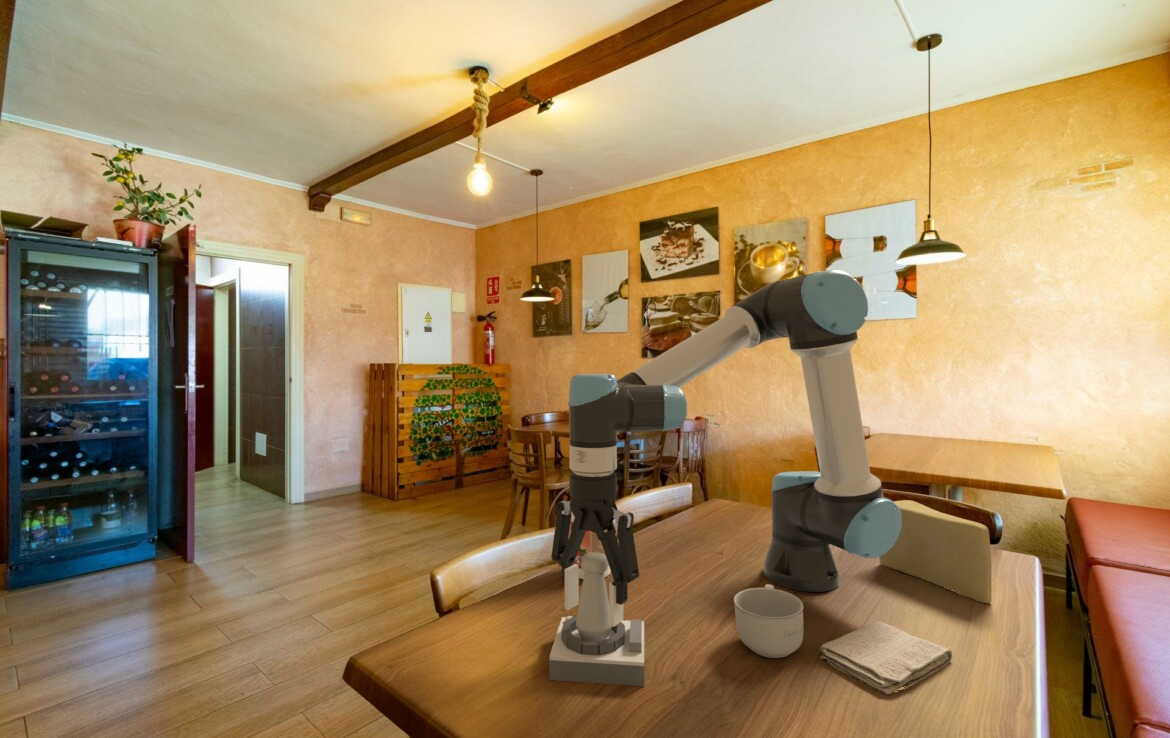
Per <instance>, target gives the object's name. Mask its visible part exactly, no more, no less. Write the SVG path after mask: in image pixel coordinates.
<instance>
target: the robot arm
mask: <svg viewBox="0 0 1170 738" xmlns="http://www.w3.org/2000/svg"><path fill="white" fill-rule="evenodd" d="M868 312H869V302H868V298H867V295H866V292H865V290H864V288H863V287H862V284H860V282H859V281H858V280H857V279H856V278H855V277H852V275H851V274H849V273H847V272H845V271H842V270H838V269H837V270H836V269H832V270H824V271H823V270H821V271H815V272H812V273H808V274H804V275H800V276H794V277H792V278H786V279H781V280H776V281H774V282H772V283H769V284H767V285H764V286H763V287H761V288H759V289H758V290H757V291H754V292H753V293H751V294H750V295H748V296H746V297H745V298H743V299H741V301H739V302H736V304H734V305H732V306H731V307H729V308H728V309H726V311H725V313H724V316H723V317H721V318H720V319H718V320H716V321H715V322H713V323H711V324H710V325H707V326H706V327H704V328H702V329H701V330H699V331H698V332H696V333H694V334H693V335H691V336H689V337H688V338H686V339H685V340H683V341H681V342H680V343H678V344H676V345H674V346H673V347H671V348H669V349H667V350H666V351H664V352H662V353H661V354H659V355H657V356H656V357H654V358H653V359H651V360H649V361H647V362H646V363H644V364H642V365H641V366H639V367H637V368H635V369H634V370H632V371H631V372H629V373H627V374H625V375H623V376H622V377H620V378H618V379H617V377H616V375H614V374H611V373H609V374H606V373H604V374H603V373H597V374H595V373H591V374H590V373H586V374H585V373H581V374H580V373H579V374H575V375H573V376H572V377H571V379H570V381H569V389H568V391H569V393H568V403H567V406H568V418H569V419H568V421H569V422H568V423H569V470H570V471H571V472H570V474H569V476H568V477H569V479H568V480H569V481H568V482H569V485H568V487H569V496H570V497H571V499H570V500H568V499H565V500H562V501H559V502H556V503H555V512H556V513H555V514H556V521H555V528H554V534H553V535H554V536H553V541H552V542H553V543H552V549H551V555H550V556H551V560H552V561H553V562H557V563H558V564H559V565H560V567H561V585H562V586H563V587H564V610H565V611H569V610H571V609H573V608H575V607H576V606H579V602H580V595H579V594H580V593H579V590H580V589H579V585H580V584H579V582H580V581H579V579H580V578H579V565H577V564H574V565H573V563H574V562H576V561H577V560H576V556H577V553H578V551H579V548H580V546H581V543H582V540H583V538H584V535H585V533H586V531H587V530H590V531H592V532H594V533H596V535H597V538H598V539H599V540H600V541H601V543H602V546H603V549H604V552H605V555H606V558H607V561H608V564H609V567H610V570H611V572H610V574H611V576H612V578H613V580H612V581H610V582H609V585H608V586H609V606H610V626H613V627H614V626H616V625H617V624H618V623H620V622H621V621H622V620H624V604H625V603H626V602H627V601H628V584H629V583H631V582H633V581H635V580H636V579H638V578H639V577H640V570H639V564H638V563H639V562H638V556H637V551H636V543H635V537H634V530H633V526H634V519H635V516H634V514H633V512H627V513H625V512H623V511H620V510H619V509H618V507H617V504H616V498H617V493H618V491H617V490H618V487H617V486H618V482H617V479H618V477H617V476H618V475H617V473H616V471H615V470H617V468H618V459H617V458H618V455H617V454H618V451H617V448H618V447H617V446H618V445H617V444H618V440H617V439H618V438H617V435H618V433H631V432H632V433H633V432H637V433H638V432H657V431H658V432H660V431H661V432H665V431H670V430H677V429H680V428H681V427H682V426H683V425H684V423H685V421H686V419H687V416H688V415H687V414H688V404H687V403H688V402H687V398H686V395H685V393H684V391H683V390H682V389H681V388H682V387H684V386H685V385H686V384H689V383H690V382H692V381H693V380H695V379H697V378H698V377H699V376H702V374H704V373H706V372H707V371H709V370H711V369H713V368H714V367H716V366H717V365H719V364H721V363H722V362H724V361H726V360H727V359H729V358H730V357H732V356H733V355H735V354H737V353H739V352H740V351H742V350H743V349H748V350H749V349H754V348H756V347H757V346H758V345H760V344H762V343H766V342H769V341H772V340H777V339H783V338H784V339H785V338H787V339H788V342H789V347H790V351H791V352H793V353H794V354H796V355H797V356H799V357H800V361H801V366H802V367H801V368H802V373H803V379H804V385H805V390H806V396H807V403H808V407H809V408H808V409H809V414H810V415H809V416H810V421H811V425H812V432H813V437H814V443H815V449H816V453H817V454H816V455H817V456H816V457H817V459H818V460H817V461H818V466H819V471H814V470H813V471H809V470H808V471H807V470H806V471H805V470H803V471H799V470H798V471H785V472H779V473H777V474H775V475H774V477H773V478H772V487H771V490H770V491H771V530H772V532H771V534H772V535H771V542H770V544H769V547H768V550H767V552H766V555H765V558H764V562H763V574H764V576H765V577H766V579H768V580H769V581H771V582H772V583H774V584H776V585H778V586H781V587H783V588H786V589H790V590H795V591H800V592H808V593H809V592H810V593H823V592H828V591H832V590H834V589H836V588H838V586H839V584H840V581H839V579H840V578H839V577H840V575H839V574H840V573H839V570H838V567H837V563H836V561H835V558H834V555H833V551H832V549H831V546H834V547H837V549H838V548H839V549H841V550H843V551H845V552H847V553H849V554H850V555H852V556H853V555H854V556H858V557H861V558H863V559H877V558H879V557H880V556H882V555H884V554H885V553H887V552H888V551H889V550H890V549H891V548H892V547H893V545H894V544H895V542H896V540H897V539H898V537H899V534H900V531H901V526H902V516H901V512H900V509H899V507H898V506H897V505H896V504H895V503H894V502H893V500H891V499H890V498H887V497H884V493H883V487H882V482H881V479H880V478H878V477H877V476H876V475H874V474H872V473H871V471H870V470H871V468H870V463H869V457H868V451H867V444H866V439H865V438H866V437H865V434H864V428H863V427H864V426H863V420H862V414H861V408H860V402H859V397H858V391H857V384H856V378H855V372H854V366H853V359H852V353H851V350H852V348H853V346H854V345H855V344H856V343H857V341H858V340H859V337H858V333H857V331H859V330H860V329H861V328H862V327H863V326H864V324H865V322H866V318H867V316H868ZM571 513H573V515H574V517H575V519H574V521H573V524H572V527H571V530H572V531H571V534H570V523H571ZM614 520H615V524H614ZM616 527H617V529H616ZM606 529H607V532H604V531H605V530H606ZM616 533H617V535H616Z"/></svg>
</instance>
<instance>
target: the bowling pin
mask: <svg viewBox="0 0 1170 738" xmlns="http://www.w3.org/2000/svg"><path fill="white" fill-rule="evenodd" d="M581 568H582V570H583V571H585V573H584V579H582V580H583V581H582V585H581V592H580V595H579V604H578V608H577V609H578V610H577V613H576V615H577V619H576V627H577V630H578V632H579V635H580V637H581V639H583V640H585V641H601V640H605V639H607V637H608V635H609V632H610V630H611V628H612V626H610V600H609V596H608V590H607V583H606V577H605V576H604V572H605V571H606V570H607V568H608V561H607V558H606V556H605V555H604V554H602V553H596V552H591V553H587V554H585V555H584V556H583V557H582V561H581Z"/></svg>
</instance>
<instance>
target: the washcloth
mask: <svg viewBox="0 0 1170 738" xmlns="http://www.w3.org/2000/svg"><path fill="white" fill-rule="evenodd" d="M819 649H820V651H821V653H822V654H821V655H820V656H819V658H820V659H821V660H825V661H826V663H828V664H829V665H830V666H832V667H833V666H834V667H833V668H835V669H837V670H838V671H841V672H842V673H844V674H845V675H848V676H850V677H852V676H853V677H852V678H854V677H855V678H854V679H856V678H857V679H859V680H861V681H862V682H861V681H860V682H861V683H863V682H864V683H866V684H867V685H866V684H865V685H866V686H868V685H869V686H868V687H870V686H871V687H870V688H872V687H873V688H875V689H878V690H879V691H881V692H883V693H882V694H884V693H885V695H891V694H895V693H894V692H895V691H898V690H897V689H899V688H901V687H904V686H905V687H904V688H906V687H908V686H910V685H912V686H914V685H916V684H918V683H919V682H920V680H921V681H922V679H923V680H924V679H927V678H928V677H930V676H931V675H932V674H934V673H935V672H937V671H939V670H940V668H941V669H943V668H944V667H946V666H948V665H949V664H950V662H951V661H952V659H953V651H952V650H951V649H948V648H947V647H945V646H943V645H939V644H938V643H935V642H932V641H930V640H929V639H923V638H919V637H918V636H914V635H912V634H909V633H908V632H907V631H904V630H902V629H900V628H898V627H896V626H892V625H891V624H887V623H885V622H882V621H875V622H872V623H871V624H868V625H867V626H863V627H862V628H859V629H856V630H852V632H849V633H847V634H846V633H845V635H842V636H840V637H838V638H836V639H832V640H831V641H827V642H825V643H822V645H821V646H820V647H819ZM948 663H949V664H948ZM947 664H948V665H947ZM945 665H946V666H945ZM942 667H943V668H942ZM930 674H931V675H930ZM927 676H928V677H927ZM857 679H856V680H857ZM859 680H858V681H859ZM918 681H919V682H918ZM864 683H863V684H864ZM915 683H916V684H915ZM873 688H872V689H873ZM875 689H874V690H875ZM879 691H878V692H879ZM881 692H880V693H881ZM892 692H893V693H892Z"/></svg>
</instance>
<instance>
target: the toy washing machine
mask: <svg viewBox="0 0 1170 738" xmlns="http://www.w3.org/2000/svg"><path fill="white" fill-rule="evenodd" d="M576 619H577V614H575V615H573V616H571V615H567V616H562V617H561V620H560V622H559V626H558V628H557V631H556V635H555V638H554V642H553V643H552V648H551V650H550V654H549V659H548V660H549V663H548V664H549V668H548V670H549V681H559V682H571V683H573V682H575V683H585V684H586V683H589V684H601V685H602V684H603V685H617V686H629V687H630V686H633V687H634V686H635V687H645V621H642V619H635V618H634V619H630V620H624V619H623V620H622V621H621V622H620V623H618V624H617V625H616V626H614V627H613V626H612V628H611V630H610V632H609V635H608V637H607V639H605V640H601V641H585V640H583V639H581V637H580V635H579V632H578V630H577V627H576Z"/></svg>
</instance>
